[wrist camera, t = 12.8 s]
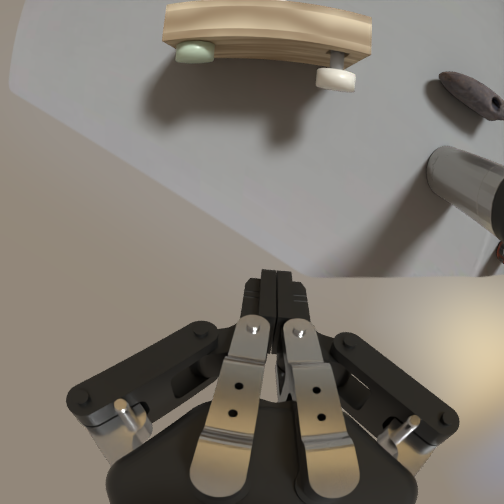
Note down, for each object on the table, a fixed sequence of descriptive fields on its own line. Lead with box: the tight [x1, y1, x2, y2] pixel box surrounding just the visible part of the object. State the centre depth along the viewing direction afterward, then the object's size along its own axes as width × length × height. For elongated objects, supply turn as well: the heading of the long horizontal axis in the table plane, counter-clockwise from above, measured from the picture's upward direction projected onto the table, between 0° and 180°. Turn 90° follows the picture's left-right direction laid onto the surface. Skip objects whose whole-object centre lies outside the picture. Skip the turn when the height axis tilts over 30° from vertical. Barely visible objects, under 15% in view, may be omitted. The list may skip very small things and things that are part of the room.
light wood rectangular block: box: [162, 0, 372, 69], centre depth 25 cm, size 5×22×12 cm, turn 86°
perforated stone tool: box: [439, 72, 504, 121], centre depth 26 cm, size 15×5×7 cm, turn 79°
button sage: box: [175, 41, 215, 64], centre depth 23 cm, size 6×4×4 cm
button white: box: [316, 50, 355, 92], centre depth 24 cm, size 6×4×4 cm
